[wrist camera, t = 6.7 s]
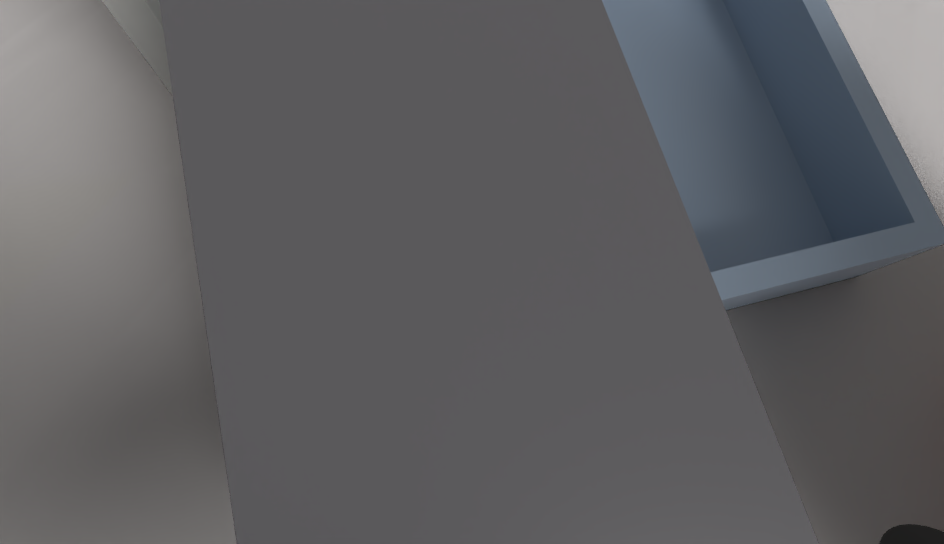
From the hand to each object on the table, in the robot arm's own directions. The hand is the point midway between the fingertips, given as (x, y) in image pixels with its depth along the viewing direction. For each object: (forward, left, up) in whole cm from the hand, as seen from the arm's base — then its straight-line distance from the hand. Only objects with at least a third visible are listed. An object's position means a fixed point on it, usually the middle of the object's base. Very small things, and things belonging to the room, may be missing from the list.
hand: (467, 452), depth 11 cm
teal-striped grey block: (0, +2, -6) cm, 6 cm away
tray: (+11, +10, -6) cm, 16 cm away
